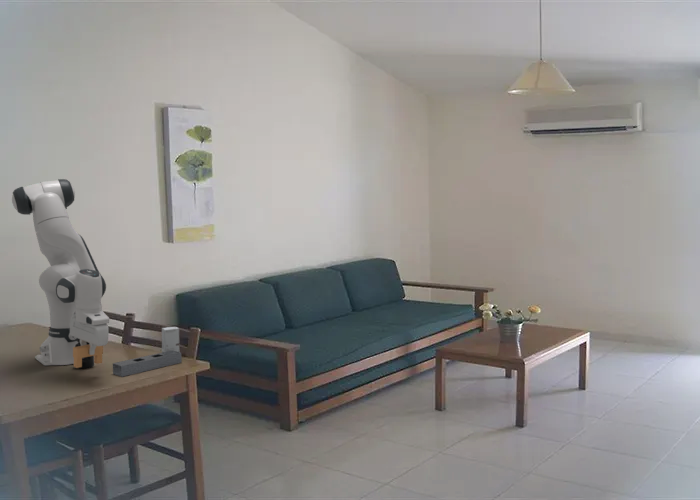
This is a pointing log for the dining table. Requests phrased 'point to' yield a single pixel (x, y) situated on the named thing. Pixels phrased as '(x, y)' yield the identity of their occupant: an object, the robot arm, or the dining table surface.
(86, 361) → the supplement bottle
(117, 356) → the dining table surface
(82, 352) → the clip
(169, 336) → the skincare box
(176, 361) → the rail
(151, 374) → the dining table surface
